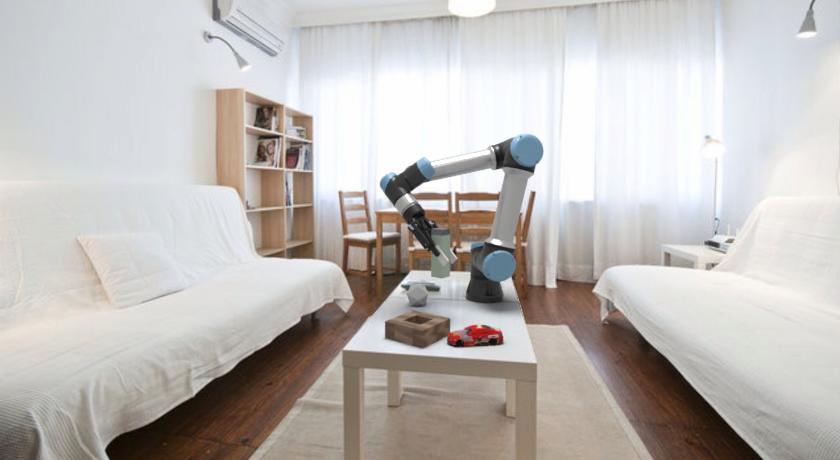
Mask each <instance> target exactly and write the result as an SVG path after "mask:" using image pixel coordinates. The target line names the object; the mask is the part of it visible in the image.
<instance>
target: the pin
mask: <svg viewBox="0 0 840 460" xmlns="http://www.w3.org/2000/svg"><path fill="white" fill-rule="evenodd" d="M431 238H432V240H433V242H434V244H435V246H436V245H438V247H439V248H440V249H441V251H442V252H443V253H444V254H445V256H446V257H447V258H448V260H449V261H448V262H447V263H446V264H445V265H444V266H442V264H441V263H440V262H439V260H438V259H437V258H436V256H435V255H434V254H433V253H432V251H431V250H430V255H431V256H430V257H431V258H430V261H431V263H430V277H431V278H437V279H445V278H448V277H450V276H451V263H450V249H451V228H448V227H447V228H446V227H444V228H443V227H439V228H434V229H431Z"/></svg>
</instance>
